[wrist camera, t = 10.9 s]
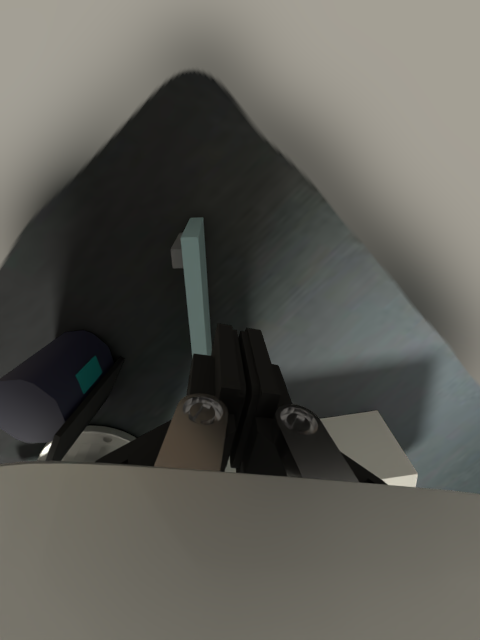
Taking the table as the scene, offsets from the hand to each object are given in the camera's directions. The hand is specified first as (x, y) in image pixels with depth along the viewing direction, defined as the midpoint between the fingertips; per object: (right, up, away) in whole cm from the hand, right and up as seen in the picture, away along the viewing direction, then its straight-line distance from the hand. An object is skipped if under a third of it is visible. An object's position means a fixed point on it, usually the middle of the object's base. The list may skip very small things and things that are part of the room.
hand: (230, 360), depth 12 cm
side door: (-3, -1, +17) cm, 18 cm away
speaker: (-15, -2, +18) cm, 23 cm away
